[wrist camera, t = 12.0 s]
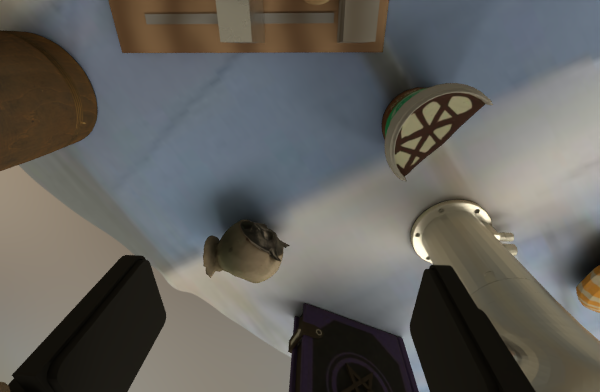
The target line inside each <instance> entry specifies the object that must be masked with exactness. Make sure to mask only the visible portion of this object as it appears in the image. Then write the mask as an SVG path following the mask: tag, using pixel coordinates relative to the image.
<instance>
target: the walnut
mask: <svg viewBox="0 0 600 392" xmlns="http://www.w3.org/2000/svg"><path fill="white" fill-rule="evenodd" d="M304 1H305V2H307V3H309V4H312V5H321V4H324V3H326V2H328V1H329V0H304Z"/></svg>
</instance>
